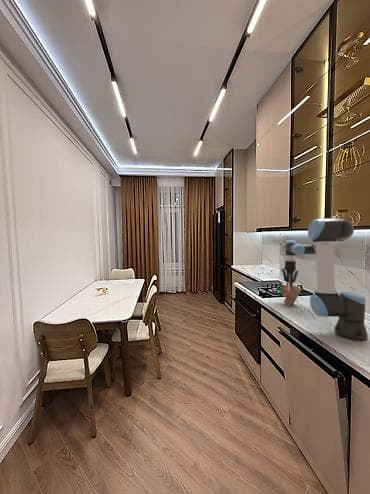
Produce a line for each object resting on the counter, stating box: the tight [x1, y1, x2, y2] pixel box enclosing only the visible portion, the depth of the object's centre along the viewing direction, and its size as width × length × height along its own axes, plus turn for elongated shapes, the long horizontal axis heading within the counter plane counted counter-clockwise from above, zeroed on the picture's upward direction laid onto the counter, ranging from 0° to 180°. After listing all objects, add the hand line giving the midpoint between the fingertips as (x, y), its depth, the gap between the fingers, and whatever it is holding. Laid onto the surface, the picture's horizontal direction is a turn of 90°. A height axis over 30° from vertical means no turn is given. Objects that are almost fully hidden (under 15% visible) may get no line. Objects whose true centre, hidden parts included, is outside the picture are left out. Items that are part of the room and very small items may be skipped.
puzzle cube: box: [280, 282, 296, 298], centre depth 211 cm, size 10×10×10 cm
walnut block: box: [283, 284, 302, 307], centre depth 184 cm, size 7×5×14 cm
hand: (289, 290), depth 185 cm, fingers closed
